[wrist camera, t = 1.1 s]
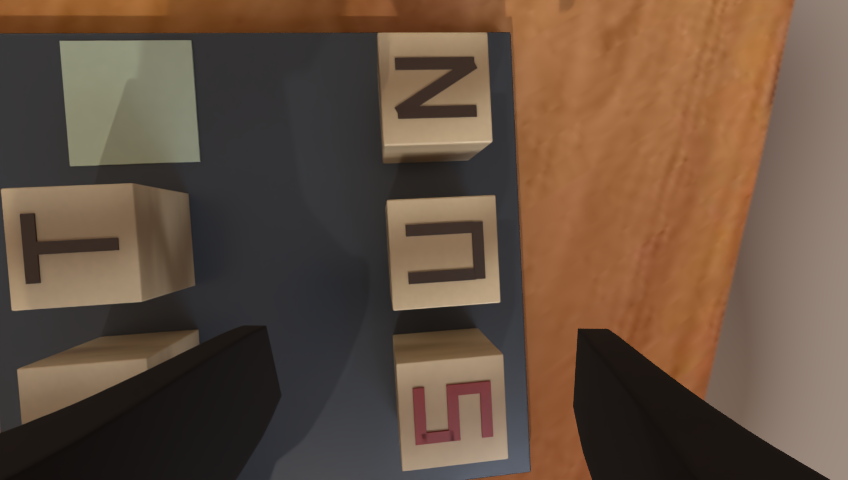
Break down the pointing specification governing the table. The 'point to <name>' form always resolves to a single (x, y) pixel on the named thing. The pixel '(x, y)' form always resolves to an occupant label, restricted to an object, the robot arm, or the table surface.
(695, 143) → the table surface
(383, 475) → the letter board
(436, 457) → the block
